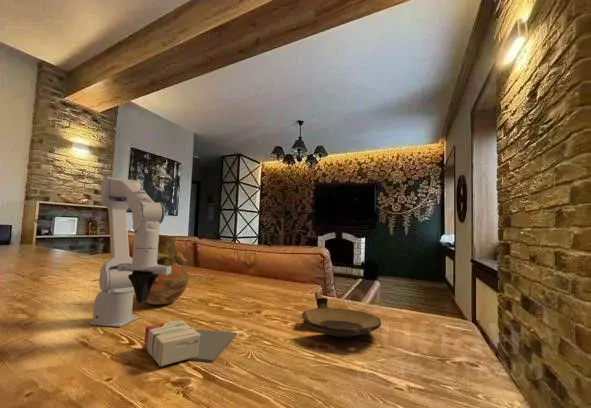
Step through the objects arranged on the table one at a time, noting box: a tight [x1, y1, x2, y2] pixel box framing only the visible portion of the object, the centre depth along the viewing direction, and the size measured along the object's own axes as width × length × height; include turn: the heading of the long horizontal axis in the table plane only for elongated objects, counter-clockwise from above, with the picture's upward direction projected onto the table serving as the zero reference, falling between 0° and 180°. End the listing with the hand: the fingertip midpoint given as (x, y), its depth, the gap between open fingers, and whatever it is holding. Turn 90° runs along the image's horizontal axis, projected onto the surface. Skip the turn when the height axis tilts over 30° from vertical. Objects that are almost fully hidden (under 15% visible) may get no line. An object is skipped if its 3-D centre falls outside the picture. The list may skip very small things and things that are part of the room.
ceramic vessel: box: [144, 234, 190, 306], centre depth 106 cm, size 17×26×25 cm, turn 172°
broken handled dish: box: [301, 290, 382, 338], centre depth 84 cm, size 22×30×8 cm
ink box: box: [143, 319, 201, 367], centre depth 65 cm, size 8×5×12 cm
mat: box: [185, 328, 238, 363], centre depth 70 cm, size 14×16×1 cm
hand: (141, 301), depth 73 cm, fingers closed
